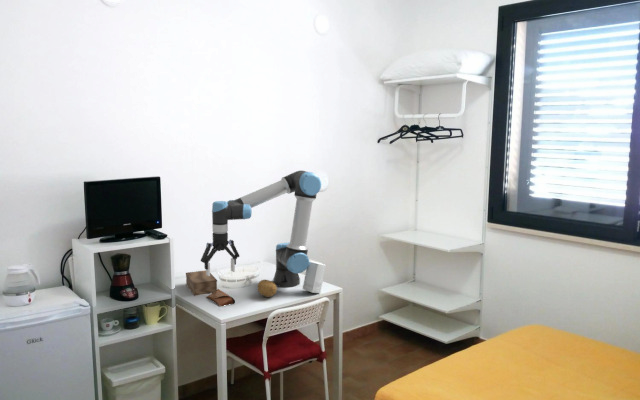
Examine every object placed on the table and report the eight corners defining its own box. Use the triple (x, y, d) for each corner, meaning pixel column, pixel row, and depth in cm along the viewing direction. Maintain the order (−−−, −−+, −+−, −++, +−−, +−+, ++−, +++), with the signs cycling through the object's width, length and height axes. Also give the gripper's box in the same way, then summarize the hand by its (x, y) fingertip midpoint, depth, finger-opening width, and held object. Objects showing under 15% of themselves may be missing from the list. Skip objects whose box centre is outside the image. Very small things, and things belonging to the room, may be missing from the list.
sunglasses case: (204, 297, 259) (210, 285, 260) (215, 301, 263) (220, 289, 264) (220, 307, 245) (226, 294, 246) (231, 311, 249) (237, 299, 250)
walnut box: (208, 282, 284) (207, 270, 283) (217, 293, 266) (217, 280, 265) (186, 285, 279) (185, 272, 278) (194, 296, 261) (193, 283, 260)
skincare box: (320, 293, 265) (327, 265, 266) (311, 292, 261) (318, 263, 262) (310, 289, 272) (316, 261, 272) (301, 288, 267) (307, 260, 268)
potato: (270, 290, 270) (270, 276, 269) (281, 298, 258) (280, 283, 257) (253, 293, 266) (253, 278, 264) (263, 301, 253) (263, 286, 252)
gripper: (238, 228, 260) (239, 267, 263) (193, 233, 245) (194, 275, 248) (245, 230, 254) (246, 271, 257) (199, 236, 239) (200, 279, 242)
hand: (220, 273), depth 253 cm, fingers open, 13 cm apart
